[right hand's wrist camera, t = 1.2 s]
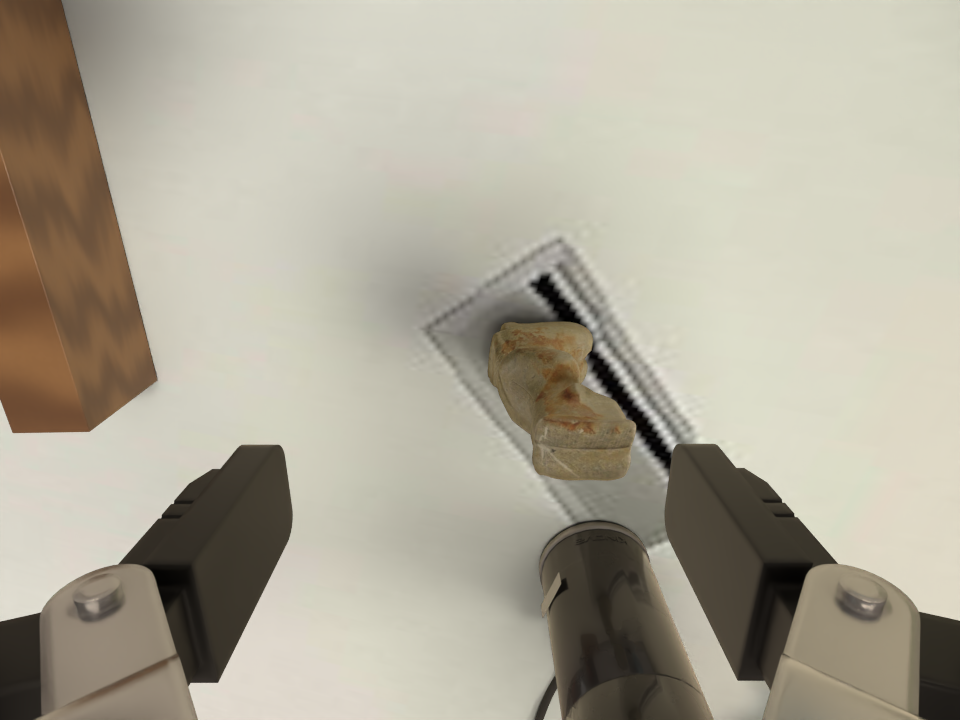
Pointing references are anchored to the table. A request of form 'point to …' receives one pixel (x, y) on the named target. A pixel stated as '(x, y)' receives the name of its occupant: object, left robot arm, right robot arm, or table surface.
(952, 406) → the table surface
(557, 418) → the sculpture
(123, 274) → the bar
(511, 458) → the table surface
